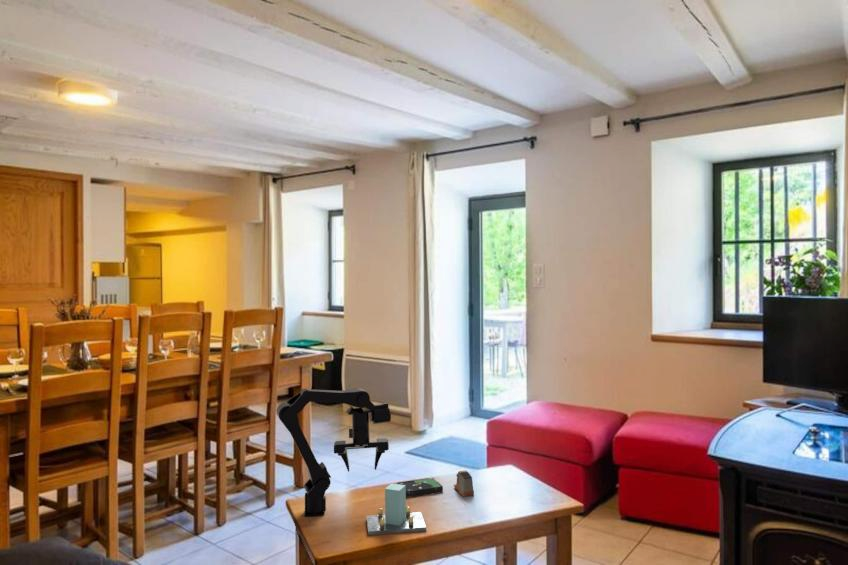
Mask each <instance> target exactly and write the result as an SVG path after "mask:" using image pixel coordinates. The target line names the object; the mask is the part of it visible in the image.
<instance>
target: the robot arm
mask: <svg viewBox="0 0 848 565" xmlns="http://www.w3.org/2000/svg"><path fill="white" fill-rule="evenodd" d="M370 398H371V397H370V394H369V393H368V392H367V391H366V390H364V389H363V388H361V387H358V388H357V387H356V388H349V389H345V390H333V389H332V390H330V389H329V390H328V389H311V388H310V389H309V388H307V387H306V388H303V389H301V391H299V392H298V393H297V394H295V395H293V396H292V397H291V398H289V399H288V400H287V401H286V402H281V403H280V404H279V405H278V406H277V408H276V411H275V412H276V415H277V417H278V419H279V420H280V422H281V423H282V425H284V427H285V428H286V429H287V431H288V432H289V433H290V436H291V437H292V440H293V441H294V443H295V445H296V448H297V449H298V452H299V453H300V456H301V457H302V459H303V461H304V463H305V466H306V468H307V472H308V473H307V474H308V477H309V479H308V480H307V481H306V482H305V483H304V484H303V488H304V491H306V492H305V493H304V513H303V516H304V517H314V516H316V517H317V516H324V515H325V512H326V510H327V498H326V496H325V495H326V492H327V490H328V489H329V488H330V486H331V484H332V483H331V478H332V475H330V473H329V471H328V469H327V466H326V465H325V463H324V461H321V462H320V463H319V462H318V460H317V458H316V457H315V455H314V453H313V451H312V449H311V446H310V444H309V443H308V440H307V439H306V436H305V434H304V432H303V430H302V428H301V424H300V420H299V416H298V414H300V413H301V411H302V410H303V409H304V408H305V407H306V406H307V405H308V404H309V403H331V404H332V403H333V404H334V403H336V404H345V405H347V406H350V407H348V409H346V414H348V416H349V415H350V416H351V422H352V428H349V429H348V438H349V439H352V443H350V442H349V443H346V442H347V441H346V440H336V441H335V442H334V444H333V454H337V456H339V457H341V459H342V460H343V462H344V464H345V467H346V470H347V472H350V461H349V456H348V450H354V449H357V450H358V449H373V448H375V454H374V455H375V457H374V470H375V471H377V467H378V464H379V462H380V459H381V457H382V454H386V451H390V450H389V448H390V446H389V439H388V438H386V437H385V438H376V441H370V422H372V424H373V425H377V424H385V423H391V420H392V419H391V418H392V414H391V410H390V407H389V403H388V402H382V403H377V404H376V403H373V402H372V401H371V399H370ZM363 408H365V409H363Z"/></svg>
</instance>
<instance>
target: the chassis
mask: <svg viewBox="0 0 848 565" xmlns="http://www.w3.org/2000/svg"><path fill="white" fill-rule="evenodd" d="M377 510H378V513H377V514H372V515H370V514H369V515H366V517H365V518H366V527H367V535H368V536H378V535H390V534H391V535H393V534H394V535H395V534H405V533H408V534H409V533H421V532H427V526H426V523H425V520H424V517H423V513H422V512H421V511H417V512H416V511H415V512H411V506H410V505H406V520H405V521H404V522H403V523H402V524H401V525H400V526H399V525H392V524H386V523H385V513H383V512H384V509H383V507H378V509H377Z"/></svg>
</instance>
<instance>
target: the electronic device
mask: <svg viewBox="0 0 848 565" xmlns="http://www.w3.org/2000/svg"><path fill="white" fill-rule="evenodd" d="M455 483H456V484H455ZM455 483H454V484H453V487H454V489H455V490H457V492H458V493H459V494H460V495H461V496H462V497H463V498H464V497H469V496H475V490H474V484H473V477H472V475H471V474H470V473H469V472H468V471H467V470H465V469H464V470H460V471H457V473H456V482H455Z"/></svg>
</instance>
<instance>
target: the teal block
mask: <svg viewBox="0 0 848 565" xmlns="http://www.w3.org/2000/svg"><path fill="white" fill-rule="evenodd" d="M406 504H407V497H406V485H400V484H397V483H390V484H389V485H387V486H386V487H385V488H384V508H385V510H384V514H385V523H386V524H392V525H399V526H400V525H401V524H402V523H403V522H404V521H405V520H406V506H407V505H406Z"/></svg>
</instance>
